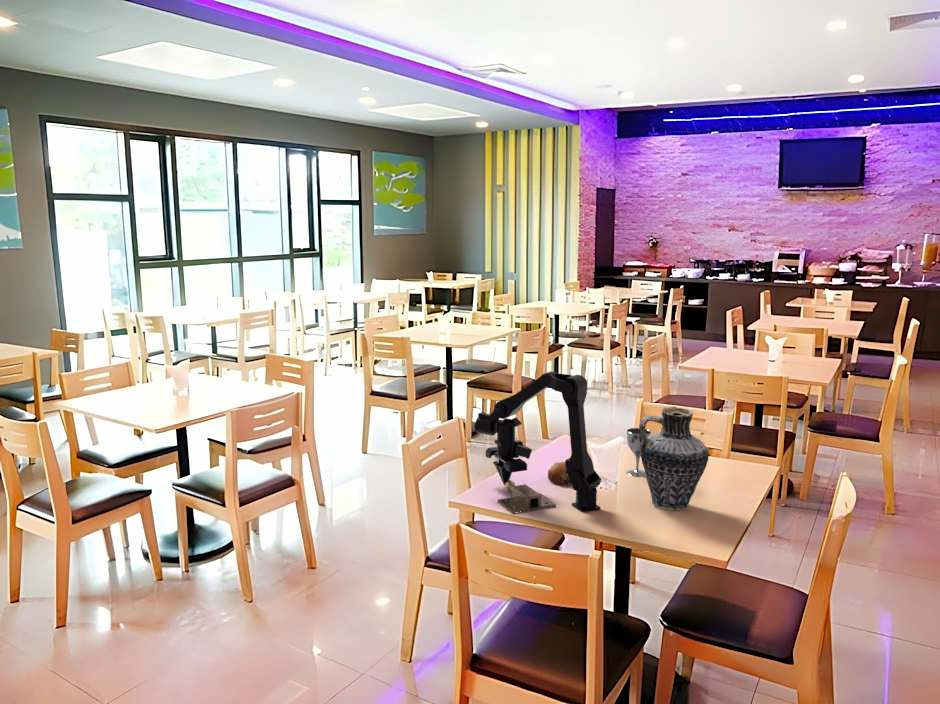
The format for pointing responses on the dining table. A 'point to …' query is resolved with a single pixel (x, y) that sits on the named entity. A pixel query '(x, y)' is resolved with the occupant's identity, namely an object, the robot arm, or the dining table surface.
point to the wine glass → (636, 448)
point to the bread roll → (559, 474)
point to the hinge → (525, 500)
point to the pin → (509, 485)
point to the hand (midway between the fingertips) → (505, 484)
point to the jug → (672, 459)
